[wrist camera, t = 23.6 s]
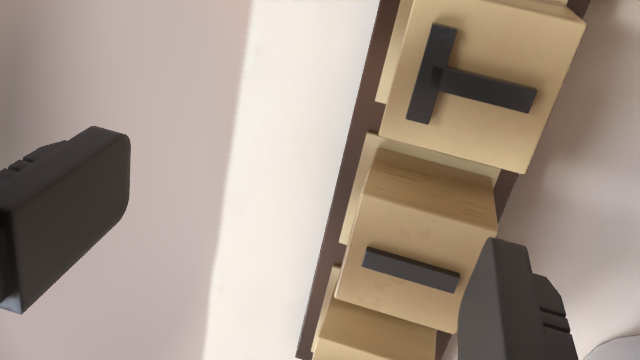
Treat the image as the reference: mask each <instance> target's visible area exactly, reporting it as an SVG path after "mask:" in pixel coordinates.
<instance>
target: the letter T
mask: <svg viewBox="0 0 640 360" xmlns="http://www.w3.org/2000/svg"><path fill="white" fill-rule="evenodd" d="M586 27H587V24H586V23H585V22H584V21H583V20H582V19H580V18H579V17H578V16H577V15H576V14H575V13H574V12H573V11H571V10H570V9H569V8H568V7H567V6H566V5H565V4H564V3H562V2H561V1H556V0H414V1H413V4H412V8H411V12H410V16H409V20H408V24H407V27H406V31H405V35H404V39H403V43H402V46H401V50H400V54H399V58H398V62H397V65H396V69H395V73H394V77H393V81H392V84H391V88H390V92H389V96H388V100H387V103H386V107H385V111H384V115H383V119H382V122H381V126H380V130H379V136H381V137H385V138H389V139H393V140H396V141H400V142H404V143H408V144H411V145H415V146H419V147H422V148H426V149H430V150H434V151H437V152H441V153H445V154H449V155H452V156H456V157H460V158H464V159H467V160H471V161H475V162H479V163H482V164H486V165H490V166H494V167H497V168H501V169H505V170H509V171H512V172H516V173H520V174H525V173H526V171H527V169H528V167H529V164H530V162H531V159H532V157H533V155H534V152H535V150H536V147H537V145H538V143H539V140H540V138H541V135H542V133H543V131H544V128H545V126H546V123H547V121H548V119H549V116H550V114H551V111H552V109H553V107H554V104H555V102H556V99H557V97H558V95H559V92H560V90H561V87H562V85H563V83H564V80H565V78H566V75H567V73H568V71H569V68H570V66H571V63H572V61H573V59H574V56H575V54H576V51H577V49H578V47H579V44H580V42H581V39H582V37H583V35H584V32H585V30H586Z"/></svg>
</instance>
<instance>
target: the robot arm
mask: <svg viewBox="0 0 640 360" xmlns="http://www.w3.org/2000/svg"><path fill="white" fill-rule="evenodd" d="M130 151H131V144H130V140H129V138H128V136H127V135H125V134H122V133H118V132H115V131H111V130H107V129H104V128H100V127H97V126H91V127H89V128H88V129H86V130H84V131H83V132H81V133H79V134H78V135H76V136H75V137H73V138H71V139H70V140H68V141H65V140H64V141H61V142H57V143H53V144H50V145H46V146H43V147H40V148H38V149H37V150H35V151H33V152H32V153H30V154H28V155H27V156H25V157H23V160H18V161H16V162H15V163H13V164H11V165H10V166H9V167H8V169H3V170H1V171H0V308H2V309H5V310H8V311H11V312H14V313H17V314H23V313H24V312H25V311H26V310H27V309H28V308H29V307H30V306H31V305H32V304H33V303H34V302H35V301H36V300H37V299H38V298H39V297H40V296H41V295H43V294H44V293H45V292H46V291H47V290H48V289H49V288H50V287H51V286H52V285H53V284H54V283H55V282H56V281H57V280H58V279H59V278H60V277H61V276H62V275H63V274H64V273H66V272H67V271H68V270H69V269H70V268H71V267H72V266H73V265H74V264H75V263H76V262H77V261H78V260H79V259H80V258H81V257H82V256H83V255H84V254H85V253H86V252H88V251H89V250H90V248H92V247H93V246H94V245H95V244H96V243H97V242H98V241H99V240H100V239H101V238H102V237H103V236H104V235H105V234H106V233H107V232H108V231H109V230H111V229H112V227H114V226H115V225H116V224H117V223H118V222H119V221H120V219H121V218H122V216H123V214H124V212H125V210H126V208H127V205H128V201H129V188H130V153H131V152H130ZM565 317H566V313H565V309H564V305H563V302H562V298H561V296H560V294H559V293H558V292H557V290H556V289H555V288H554V287H553V285H552V284H551V283H550V281H549V280H548V279H547V278H546V277H544V276H541V275H537V274H533V273H532V270H531V265H530V260H529V256H528V251H527V248H526V247H525V246H522V245H518V244H515V243H511V242H507V241H504V240H500V239H497V238H493V237H489V238H488V239H487V240H486V242H485V244H484V246H483V248H482V250H481V253H480V255H479V258H478V260H477V263H476V265H475V267H474V270H473V272H472V275H471V277H470V280H469V282H468V284H467V287H466V289H465V292H464V294H463V297H462V300H461V304H460V308H459V314H458V360H578V356H577V353H576V349H575V345H574V342H573V338H572V334H570V327H569V324H568V320H567V318H565Z"/></svg>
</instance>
